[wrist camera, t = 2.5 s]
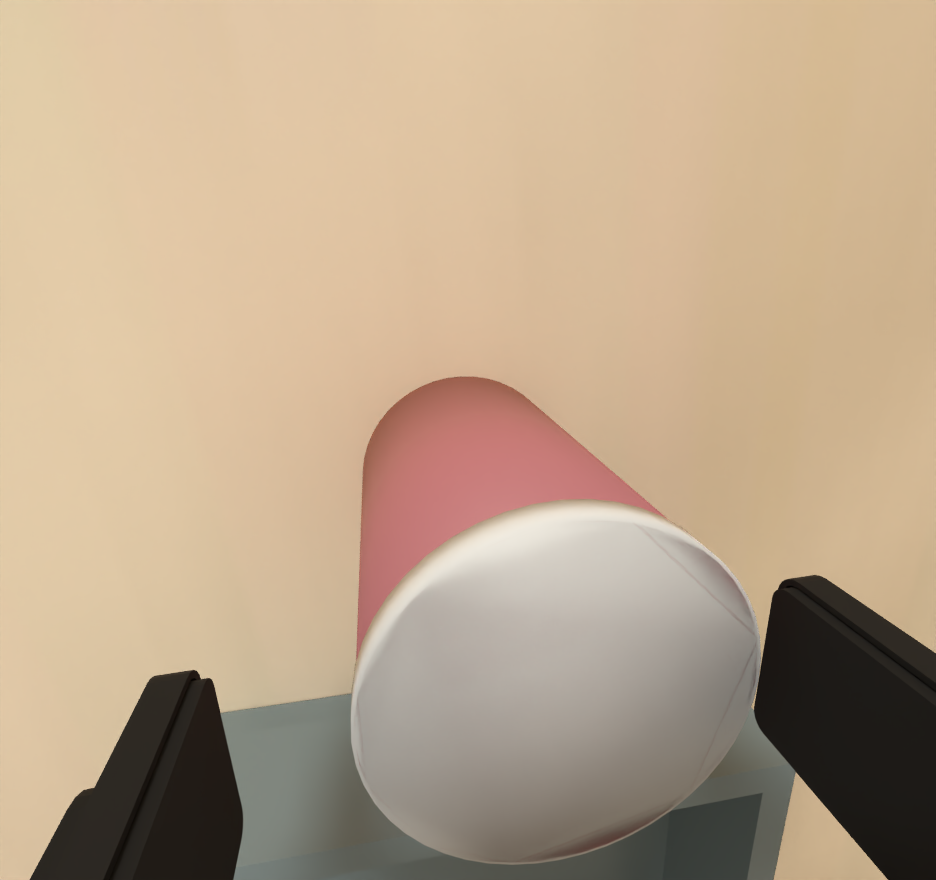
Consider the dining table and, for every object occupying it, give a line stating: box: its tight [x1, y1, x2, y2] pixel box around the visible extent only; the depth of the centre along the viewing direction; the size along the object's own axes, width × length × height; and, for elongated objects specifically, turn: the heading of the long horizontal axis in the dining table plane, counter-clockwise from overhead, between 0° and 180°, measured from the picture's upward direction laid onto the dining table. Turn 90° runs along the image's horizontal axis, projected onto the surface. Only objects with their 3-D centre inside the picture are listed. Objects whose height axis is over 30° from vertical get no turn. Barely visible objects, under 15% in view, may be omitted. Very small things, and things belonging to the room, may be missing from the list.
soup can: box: [351, 377, 761, 865], centre depth 13 cm, size 6×6×10 cm
